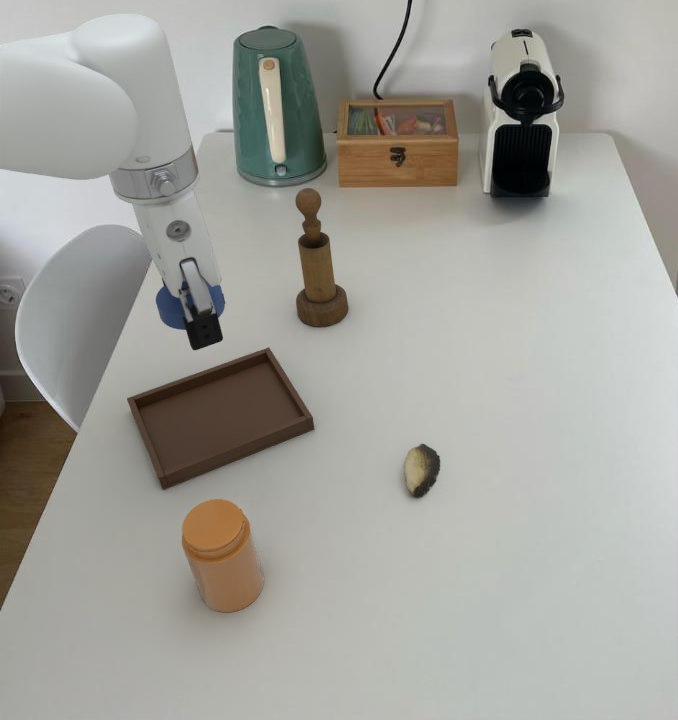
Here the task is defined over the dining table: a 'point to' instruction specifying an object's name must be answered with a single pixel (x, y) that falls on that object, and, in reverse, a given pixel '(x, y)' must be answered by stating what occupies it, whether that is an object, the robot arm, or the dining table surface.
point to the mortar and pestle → (317, 268)
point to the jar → (222, 555)
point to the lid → (173, 310)
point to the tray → (218, 416)
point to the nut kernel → (421, 469)
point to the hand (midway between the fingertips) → (196, 322)
